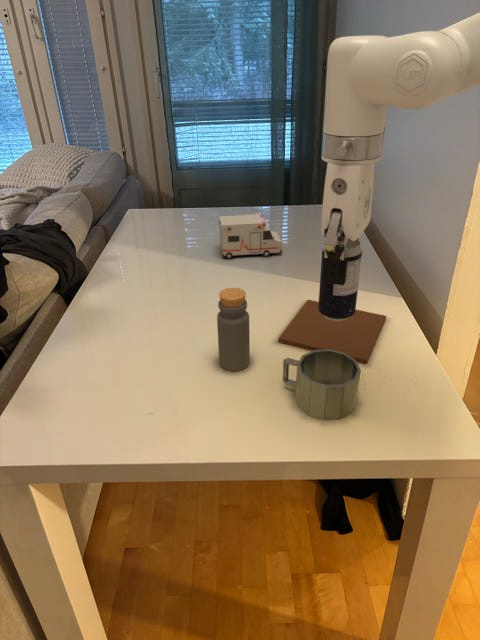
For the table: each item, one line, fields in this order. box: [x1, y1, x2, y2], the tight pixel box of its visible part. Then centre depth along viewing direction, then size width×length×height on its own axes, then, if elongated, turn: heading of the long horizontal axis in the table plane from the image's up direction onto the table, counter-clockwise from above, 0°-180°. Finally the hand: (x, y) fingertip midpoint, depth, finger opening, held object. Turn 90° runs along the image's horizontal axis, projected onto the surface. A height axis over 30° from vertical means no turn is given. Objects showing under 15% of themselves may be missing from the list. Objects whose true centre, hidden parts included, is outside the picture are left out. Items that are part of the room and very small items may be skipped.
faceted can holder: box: [282, 349, 362, 421], centre depth 79 cm, size 13×10×7 cm
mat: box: [278, 299, 387, 365], centre depth 98 cm, size 18×18×1 cm
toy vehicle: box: [218, 213, 283, 260], centre depth 133 cm, size 10×17×10 cm, turn 97°
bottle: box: [216, 287, 251, 372], centre depth 86 cm, size 6×6×15 cm
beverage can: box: [318, 236, 363, 321], centre depth 70 cm, size 6×6×12 cm
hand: (340, 273), depth 69 cm, fingers closed on beverage can, 5 cm apart
